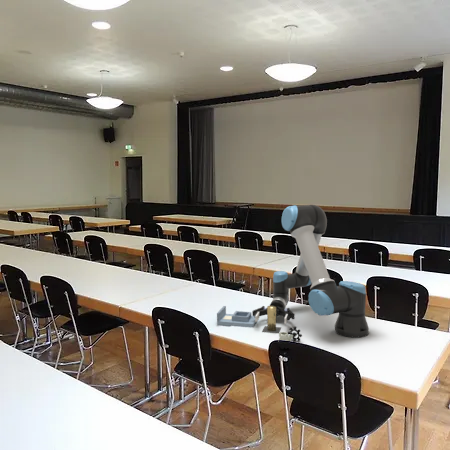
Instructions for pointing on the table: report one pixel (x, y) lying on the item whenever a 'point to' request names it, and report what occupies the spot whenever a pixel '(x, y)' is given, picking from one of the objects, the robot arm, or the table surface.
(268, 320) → the brass peg
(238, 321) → the grey socket fixture
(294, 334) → the valve
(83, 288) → the table surface
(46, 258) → the table surface
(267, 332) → the pad
